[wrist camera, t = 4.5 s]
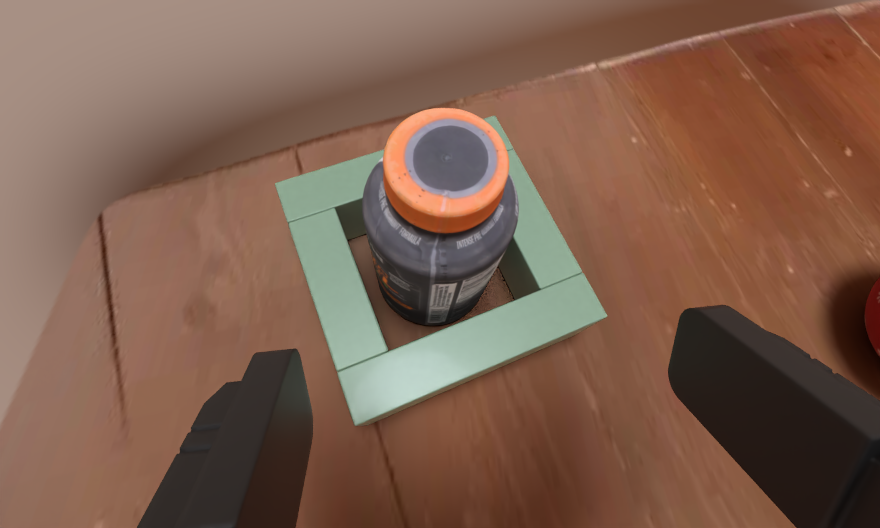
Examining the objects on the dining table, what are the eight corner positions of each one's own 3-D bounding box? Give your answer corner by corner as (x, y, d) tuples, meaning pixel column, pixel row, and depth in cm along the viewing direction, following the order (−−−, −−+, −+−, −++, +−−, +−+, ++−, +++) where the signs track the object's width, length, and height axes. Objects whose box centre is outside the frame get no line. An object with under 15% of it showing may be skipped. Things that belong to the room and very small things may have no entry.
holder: (365, 426, 21) (354, 426, 17) (295, 220, 24) (274, 182, 21) (576, 334, 23) (608, 316, 19) (483, 158, 27) (495, 114, 23)
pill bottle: (365, 244, 24) (327, 101, 13) (462, 215, 25) (498, 61, 14) (397, 343, 22) (383, 269, 12) (501, 307, 23) (575, 209, 13)
